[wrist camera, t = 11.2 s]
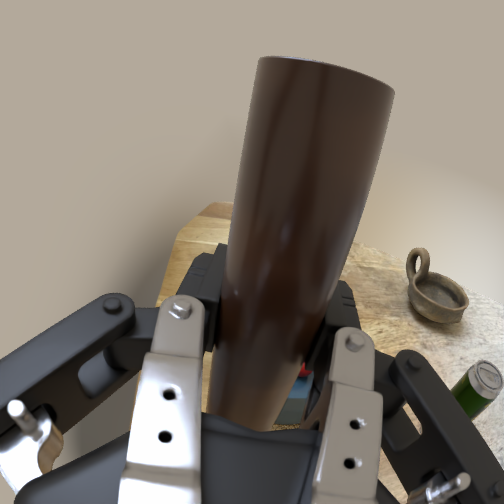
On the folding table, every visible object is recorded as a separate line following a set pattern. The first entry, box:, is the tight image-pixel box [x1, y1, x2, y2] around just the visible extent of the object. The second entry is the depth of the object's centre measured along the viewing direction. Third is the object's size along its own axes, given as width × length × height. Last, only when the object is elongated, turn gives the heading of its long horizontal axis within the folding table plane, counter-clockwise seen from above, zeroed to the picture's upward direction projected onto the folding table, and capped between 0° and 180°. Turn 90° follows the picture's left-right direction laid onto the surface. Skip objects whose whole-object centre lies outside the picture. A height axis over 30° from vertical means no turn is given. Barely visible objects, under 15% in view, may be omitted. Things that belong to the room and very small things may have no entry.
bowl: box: [406, 248, 469, 324], centre depth 51 cm, size 14×18×10 cm
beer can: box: [420, 360, 504, 434], centre depth 26 cm, size 5×5×12 cm
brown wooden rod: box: [206, 56, 395, 432], centre depth 10 cm, size 3×3×18 cm
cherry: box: [298, 362, 313, 377], centre depth 35 cm, size 3×3×3 cm
